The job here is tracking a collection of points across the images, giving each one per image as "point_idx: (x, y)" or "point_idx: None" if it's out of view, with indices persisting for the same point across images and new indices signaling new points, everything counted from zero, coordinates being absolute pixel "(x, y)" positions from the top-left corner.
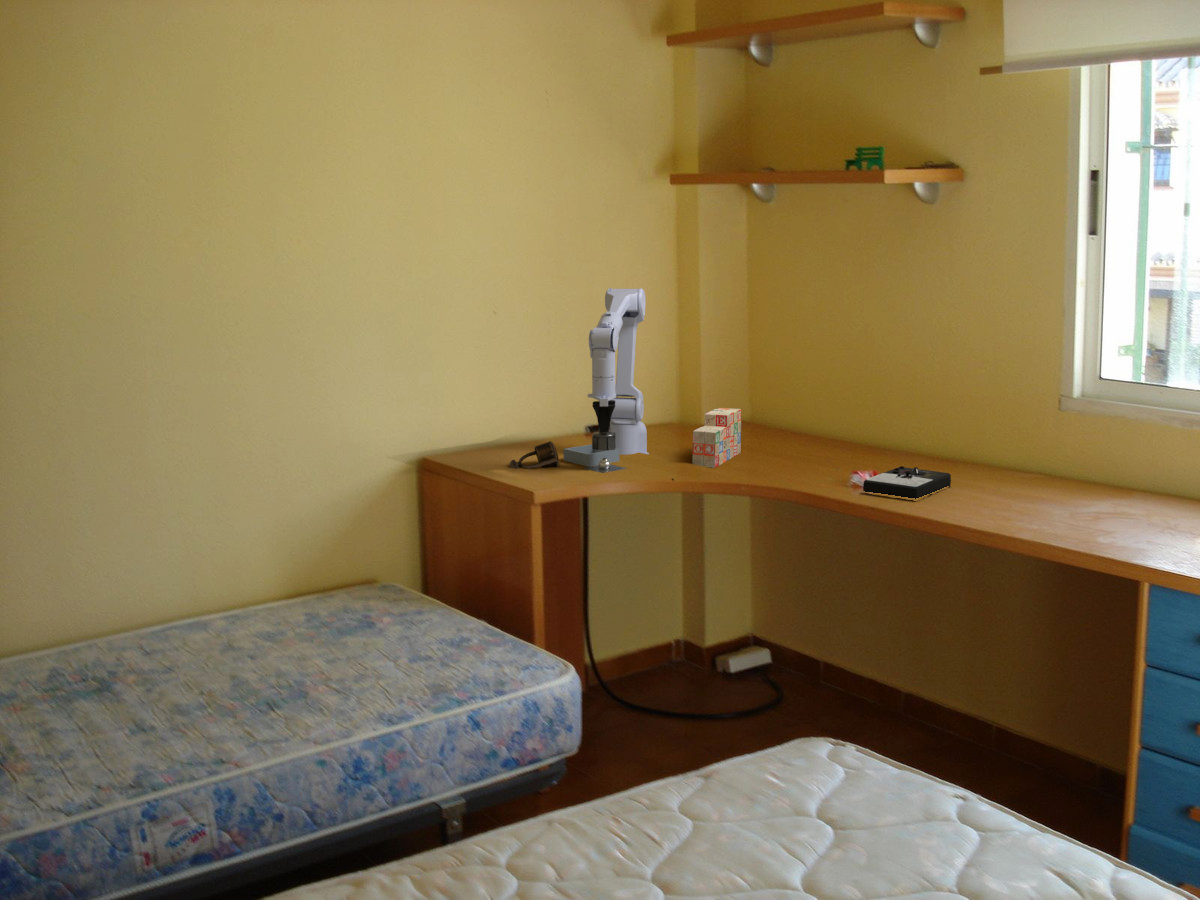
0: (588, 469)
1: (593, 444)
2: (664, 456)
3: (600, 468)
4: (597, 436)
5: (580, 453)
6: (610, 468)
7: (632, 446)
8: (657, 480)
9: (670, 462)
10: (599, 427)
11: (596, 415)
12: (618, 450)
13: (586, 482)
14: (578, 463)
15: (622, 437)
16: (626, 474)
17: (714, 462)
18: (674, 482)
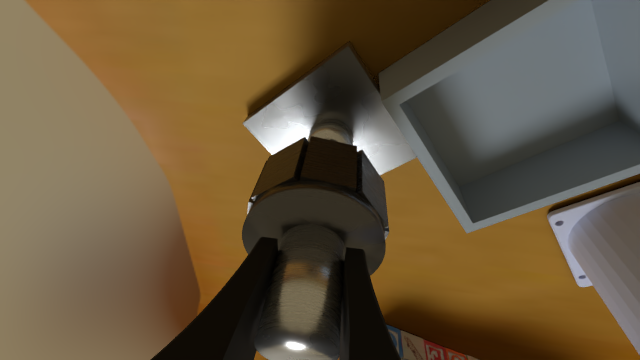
0: (308, 74)
1: (291, 155)
2: (529, 303)
3: (316, 124)
4: (255, 204)
5: (446, 60)
6: None
7: (585, 273)
8: (214, 242)
9: (438, 299)
10: (244, 260)
11: (173, 340)
12: (463, 227)
13: (140, 48)
14: (451, 33)
15: (625, 281)
16: None
17: None
18: (198, 266)
